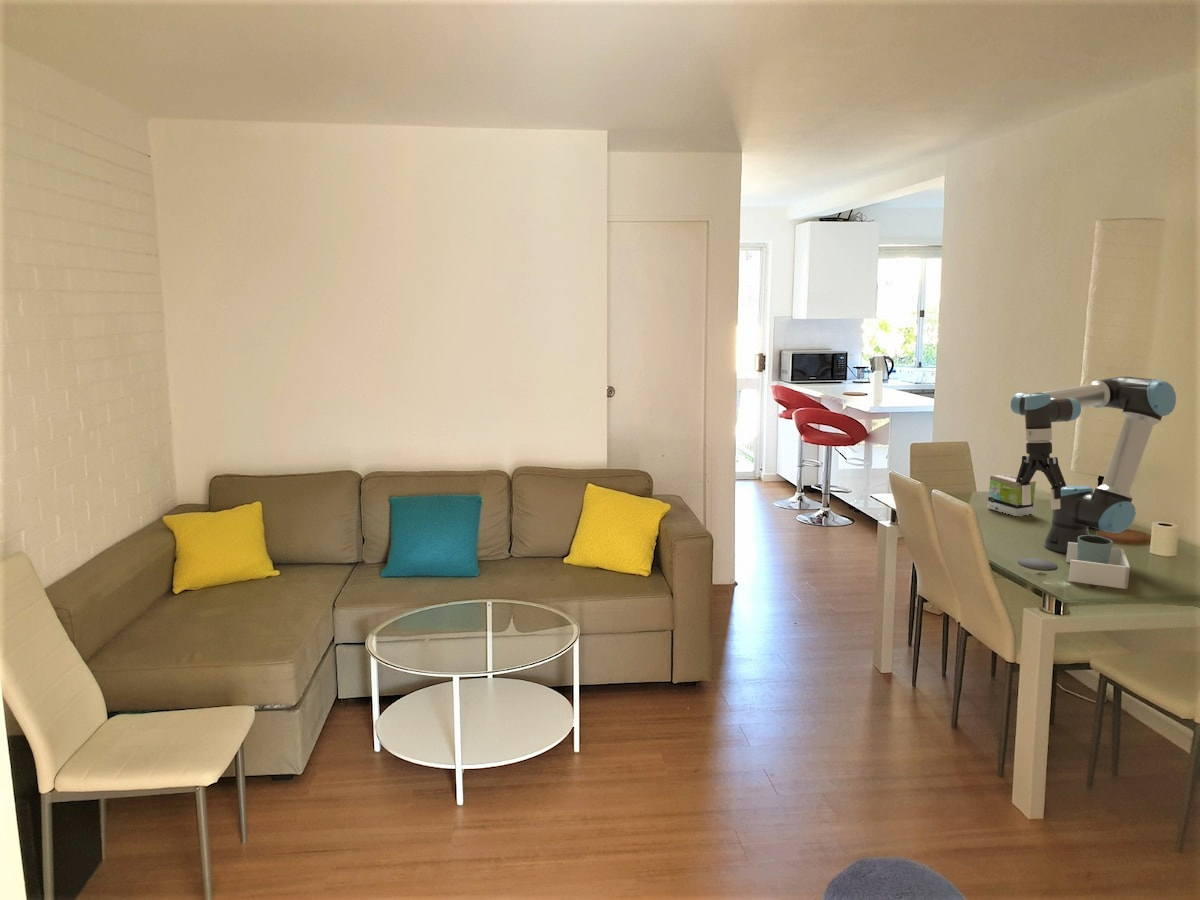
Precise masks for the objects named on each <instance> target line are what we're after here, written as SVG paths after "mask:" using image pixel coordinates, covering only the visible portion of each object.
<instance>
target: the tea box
mask: <svg viewBox="0 0 1200 900" xmlns="http://www.w3.org/2000/svg"><path fill="white" fill-rule="evenodd" d="M1017 476H1018V475H1017ZM1017 476H1016V475H1012V474H1009V473H1004V474H997V475H990V476H989V477H990V478H989V487H988V488H989V489H988V496H987V497H988V499H987V509H988V510H993V511H997V512H998V513H1002V512H1003V513H1002V514H1005V513H1006V514H1005V515H1008V514H1010V515H1009V516H1011V515H1013V516H1012V517H1014V516H1020V517H1023V516H1022V515H1027V514H1032V515H1033V510H1034V501H1035V494H1036V493H1035V492H1036V484H1037V483H1036V481H1035V480H1032V479H1031V480H1030V482H1029V483H1030V485H1031V505H1022V493H1021V485H1020V483H1017V482H1016V479H1017ZM1021 479H1022V478H1021ZM1027 516H1028V515H1027Z"/></svg>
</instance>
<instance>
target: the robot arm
mask: <svg viewBox="0 0 1200 900" xmlns="http://www.w3.org/2000/svg"><path fill="white" fill-rule="evenodd" d="M1176 404H1177V395H1176V391H1175V389H1174V387H1173V386H1172V384H1171V383H1170V382H1168V381H1165V380H1161V379H1157V378H1143V377H1136V376H1135V377H1134V376H1117V377H1110V378H1104V379H1098V380H1094V381H1091V382H1090V383H1089V384H1086V385H1080V386H1073V387H1066V388H1061V389H1053V390H1046V391H1042V392H1041V391H1040V392H1033V393H1027V392H1017V393H1015V394H1014V395H1013V396H1012V398H1011V401H1010V409H1011V411H1012V412H1013V413H1014V414H1016V415H1020V416H1024V419H1025V420H1024V422H1025V441H1026V443H1025V450H1026V453H1025V454H1027V455H1022V456H1021V464H1020V467H1019V470H1018V472H1017V479H1016V482H1017V483H1020V485H1021V493H1022V505H1031V485H1030V483H1029V482H1030V480H1032V478H1033V477H1034V475H1035V474H1036V472H1037V471H1041V473H1043V474H1044V476H1045V477H1046V479H1047V481H1048V482H1049V484H1050V486H1051V487H1050V506H1051V507H1050V509H1051V510H1052V519H1051V521H1052V522H1051V526H1050V529H1049V531H1048V533H1047V534H1046V537H1044V544H1043V545H1044V547H1045V548H1046V549H1049V550H1051V551H1054V552H1057V553H1063V554H1067V548H1068V542H1073V543H1078V537H1079V536H1081V535H1090V532H1089V527H1091V528H1094V529H1097V530H1100V531H1102V532H1105V533H1111V534H1120V533H1123V532H1124V531H1126V530H1127V529H1128V528H1129V527H1130V526H1131V525H1132V524H1133V522H1134V520H1135V517H1136V507H1135V505H1134V504H1133V503H1132V501H1133V496H1132V494H1131V489H1132V487H1133V483H1134V481H1135V478H1136V475H1137V473H1138V469H1139V467H1140V464H1141V461H1142V459H1143V457H1144V453H1145V449H1146V447H1147V444H1148V442H1149V439H1150V437H1151V434H1152V430H1153V429H1154V428H1153V427H1154V426H1155V425H1157V424H1159V423H1161V421H1162V417H1166V416H1169V415H1170V414H1171V413H1172V412H1173V411H1174V409H1175V407H1176ZM1087 407H1094V408H1097V409H1098V408H1099V409H1100V408H1112V409H1118V410H1122V411H1121V414H1122V416H1123V417H1124V421H1123V424H1122V427H1121V430H1120V432H1119V435H1118V438H1117V442H1116V444H1115V447H1114V450H1113V452H1112V455H1111V458H1110V460H1109V463H1108V466H1107V469H1106V472H1105V475H1104V478H1103V480H1102V483H1101V484H1100V485H1098V486H1096V487H1094V489H1093V487H1091V486H1088V485H1087V486H1086V485H1067V484H1066V482H1065V481H1066V480H1065V478H1064V476H1063V473H1062V470H1061V468H1060V465H1059V459H1058V457H1056V456H1054V457H1051V456H1050V454H1053V442H1052V440H1053V433H1052V432H1053V430H1052V429H1053V427H1052V423H1061V422H1071V421H1075V420H1077V419H1078V418H1079V417H1080V416H1081V413H1082V408H1083V409H1084V408H1087ZM1021 478H1022V479H1021Z"/></svg>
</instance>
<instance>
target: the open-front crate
mask: <svg viewBox="0 0 1200 900" xmlns="http://www.w3.org/2000/svg"><path fill="white" fill-rule="evenodd" d="M1077 549H1078V543H1073V542H1068V548H1067V553H1066V558H1065V563H1069V564H1070V565H1069V573H1068V582H1072V583H1080V584H1087V585H1093V586H1103V587H1109V588H1114V589H1115V588H1116V589H1125V590H1128V587H1129V580H1130V572H1131V571H1130V570H1131V566H1130V563H1129V561H1128V558H1127V555H1126V551H1125V549H1124V548H1122V547H1114V546H1112V548H1111V553H1110V556H1109V562H1108V564H1103V563H1095V562H1087V561H1079V560H1077V555H1078V551H1077Z"/></svg>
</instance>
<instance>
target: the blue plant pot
mask: <svg viewBox="0 0 1200 900" xmlns="http://www.w3.org/2000/svg"><path fill="white" fill-rule="evenodd" d="M1112 547H1113V540H1112V539H1110V538H1107V537H1105V536H1100V535H1093V534H1089V535H1081V536H1079V537H1078V549H1077V551H1078V555H1077V560H1079V561H1087V562H1095V563H1103V564H1108V562H1109V556H1110V553H1111V548H1112Z"/></svg>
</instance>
